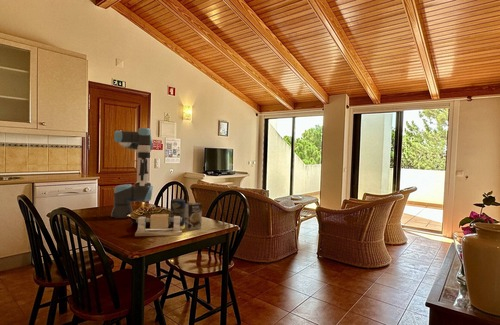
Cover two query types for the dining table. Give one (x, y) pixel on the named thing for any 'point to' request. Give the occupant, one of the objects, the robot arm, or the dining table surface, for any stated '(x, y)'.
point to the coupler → (159, 221)
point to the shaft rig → (157, 232)
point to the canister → (177, 209)
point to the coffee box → (193, 216)
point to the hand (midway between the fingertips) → (143, 184)
